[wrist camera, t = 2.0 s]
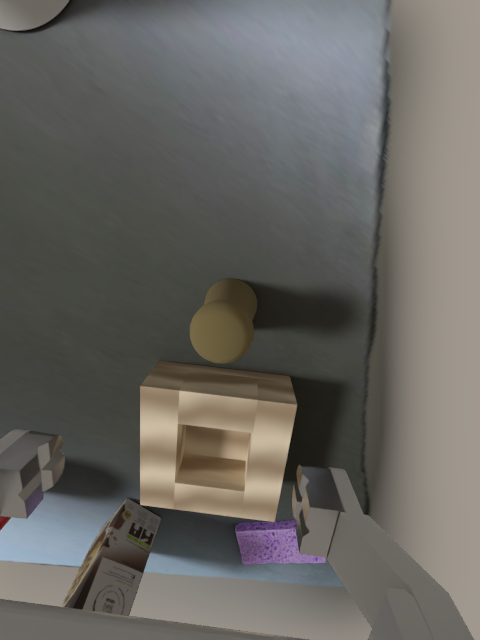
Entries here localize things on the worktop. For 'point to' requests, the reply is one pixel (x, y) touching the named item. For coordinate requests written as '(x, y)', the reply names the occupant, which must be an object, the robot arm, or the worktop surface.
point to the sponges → (271, 543)
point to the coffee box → (115, 562)
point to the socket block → (214, 439)
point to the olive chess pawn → (224, 322)
